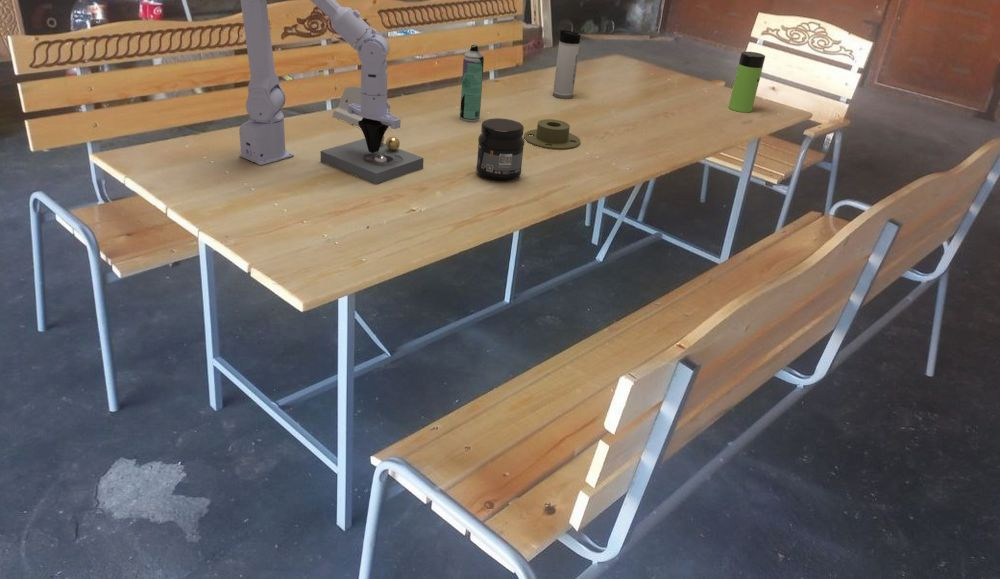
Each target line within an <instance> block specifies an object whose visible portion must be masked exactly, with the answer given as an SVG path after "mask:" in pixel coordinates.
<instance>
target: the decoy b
mask: <svg viewBox="0 0 1000 579" xmlns="http://www.w3.org/2000/svg"><path fill="white" fill-rule="evenodd" d="M400 143H401V142H400V140H399V139H398V138H397V137H396V136H390V137H388V138H386V141H385V144H386V147H387V148H388V149H389V150H391V151H395V150H397V149H400Z"/></svg>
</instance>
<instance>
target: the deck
mask: <svg viewBox="0 0 1000 579" xmlns="http://www.w3.org/2000/svg"><path fill="white" fill-rule="evenodd" d="M319 154H320V162H321V161H322V162H321V163H323V162H324V163H323V164H326V165H328V164H329V166H331V167H333V168H336V169H338V170H341V171H343V172H345V173H348V174H351V175H353V176H355V175H356V177H357V176H358V177H357V178H359V179H363V180H365V181H368V182H370V183H373V184H375V185H379V184H381V183H384V182H387V181H390V180H393V179H396V178H399V177H402V176H405V175H408V174H410V173H413V172H416V171H419V170H421V169H423V168H424V157H422V156H420V155H418V154H417V155H416V154H414V153H411V152H409V151H405V150H403V149H400V148H398V149H397V150H395V151H391V150H389V149H388V148H387V147H386V142H383V143H382V144H381V145H380V148H379V151H378V152H375V153H371V152H369V151H368V147H367V143H366V139H365V138H362V139H359V140H354V141H352V142H347V143H344V144H340V145H337V146H333V147H330V148H327V149H322V150H320V152H319ZM378 155H383V156H384V157H386V159H387V161H388V162H377V161H375V160H374V158H375V157H376V156H378Z"/></svg>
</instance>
